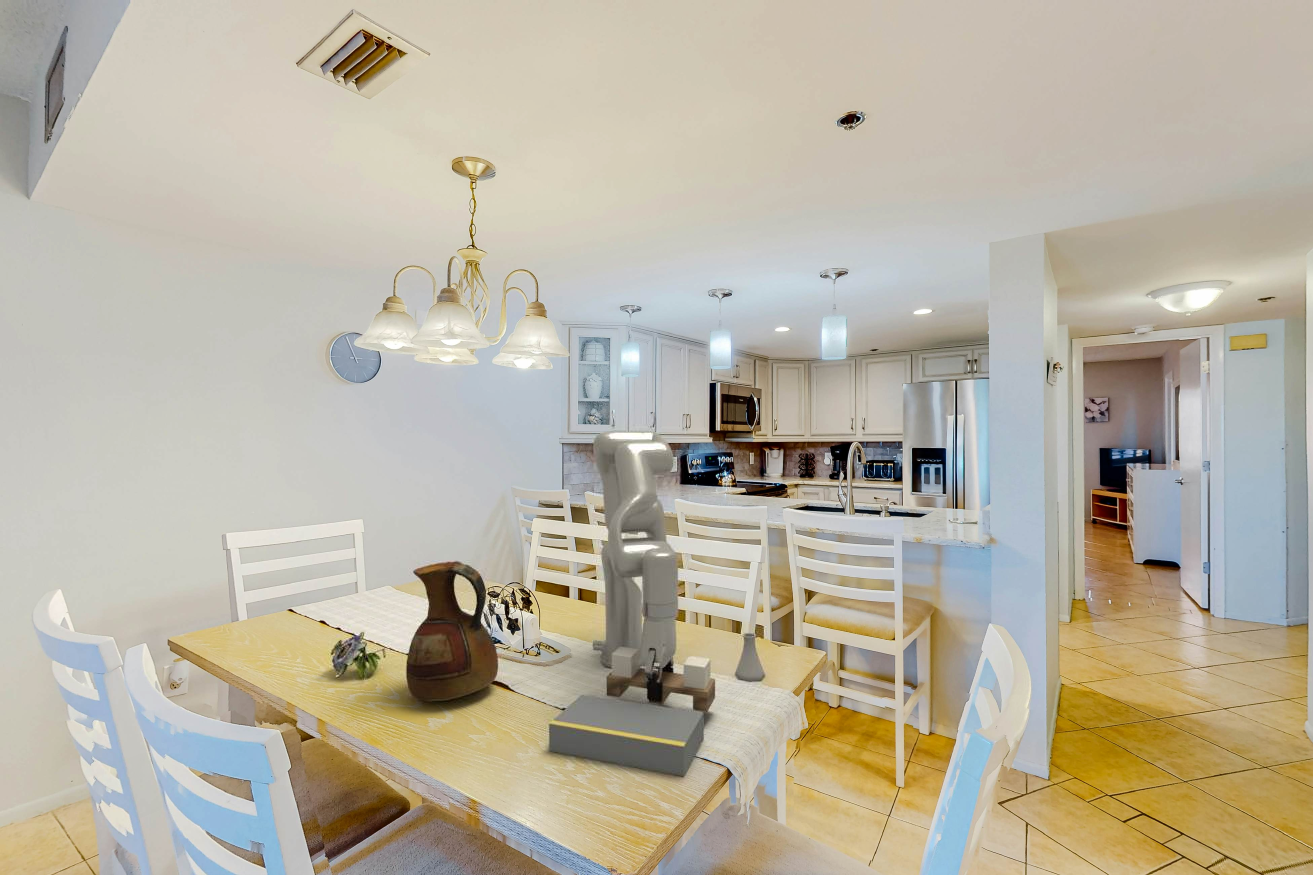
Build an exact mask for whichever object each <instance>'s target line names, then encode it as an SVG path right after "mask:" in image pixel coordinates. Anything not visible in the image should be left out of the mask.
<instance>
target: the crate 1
mask: <svg viewBox="0 0 1313 875" xmlns="http://www.w3.org/2000/svg"><path fill="white" fill-rule="evenodd" d="M639 668H640V666H639V649H633V648H626V647H619V648H618V649H617V650H616V651H615V652H614V653H612V668H611V672H612V675H613V676H620V677H626V678H632V677H633V676H634V675H635V674H636V673H637V671H638V670H639Z"/></svg>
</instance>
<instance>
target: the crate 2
mask: <svg viewBox="0 0 1313 875" xmlns="http://www.w3.org/2000/svg"><path fill="white" fill-rule="evenodd" d="M683 674H684V686H685V687H692V688H698V689H706V687H707V685H708V684H709V682H710V678H711V658H707V657H698V656H692V655H691V656H690V655H689V656H688V658H687V659H686V661H685V662H684V663H683Z"/></svg>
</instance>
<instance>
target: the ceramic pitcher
mask: <svg viewBox="0 0 1313 875" xmlns="http://www.w3.org/2000/svg"><path fill="white" fill-rule="evenodd" d="M412 572H413V574H414V575H415V576H416V577H417V578H418V579H420V580H421V581H422V583H423V585H424V587H425V592H426V598H427V600H428V602H427V603H428V609H427V616H426V618H425V619H424V620H423V622H422V623H420V624H419V626H418V628H417V629H416V630H415V633H414V635H413V637H412V639H411V642H410V644H409V648H408V649H409V650H408V653H407V658H406V669H405V673H406V675H405V676H406V684H407V688H408V690H409V693H410V694H411V695H410V696H413V698H415V699H417V700H420V701H426V702H431V701H432V702H436V701H437V702H438V701H449V700H451V699H457V698H461V697H465V696H468V695H471V694H473V693H475V692H477V691H481V690H483V689H484V688H486V687H487V686H489V685H490V684H493V682H494V681H495V679H496V677H497V675H498V670H499V658H498V652H497V649H496V644H495V642H494V640H493V638H492V636H491V634H490V633H489V631H488V629H487V628H486V626H484V624H483V622H482V615H483V612H484V608H485V605H486V600H487V590H486V585H485V582H484V580H483V577H482V576H481V574H480V572H479V571H478V570H477V569H475V568H473V567H472V566H471V565H469V564H464V563H462V562H461V561H458V560H455V561H446V562H438V563H434V564H429V565H425V566H422V567H419V568H416V569H413V571H412ZM457 575H458V576H461V577H463V578H465V579H466V580H467V581H468V582H469V583H470V584H471V586H472V588H473V590H474V592H475V597H476V603H475V605H476V606H475V610H474V614H471V613H468V612H466V611H463V609H461V607H460V606H459V603H458V600H457V597H456V592H455V579H456V577H457Z"/></svg>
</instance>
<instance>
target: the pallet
mask: <svg viewBox="0 0 1313 875" xmlns="http://www.w3.org/2000/svg"><path fill="white" fill-rule="evenodd" d="M653 670H654V672H655V673H656V674H658V669H653ZM646 679H647V677H646V674H645V667H644V668H643V667H639V670H638V671H637V673H636V674H635V675H634V676H633V677H632V678H626V677H620V676H613V675H612V671H611V672H610V673H609V674H608V675H606V696H608V697H613V698H621V697H622V696H623V694H624V693H626V691H627V690H628V689H629V688H630V687H635V688H638V689H639V688H640V689H646V690H647V680H646ZM661 682H663V700H662V701H661V702H658V701H652V700H648V703H651V704H656V705H663V704H664V703H665V702H666V700H667V699H668V697H670V694H672V693H673V694H678V695H685V696H690V697H692V711H696V712H702V713H708V712H709V710H710V708H711V706H712V705H713V702H715V701H714V700H715V699H716V678H714V677H713V678H711V677H710V682H709V684H708V685H707V687H706V689H698V688H692V687H685V686H684V673H679V672H673V673H671V672H664V671H662V675H661Z"/></svg>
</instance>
